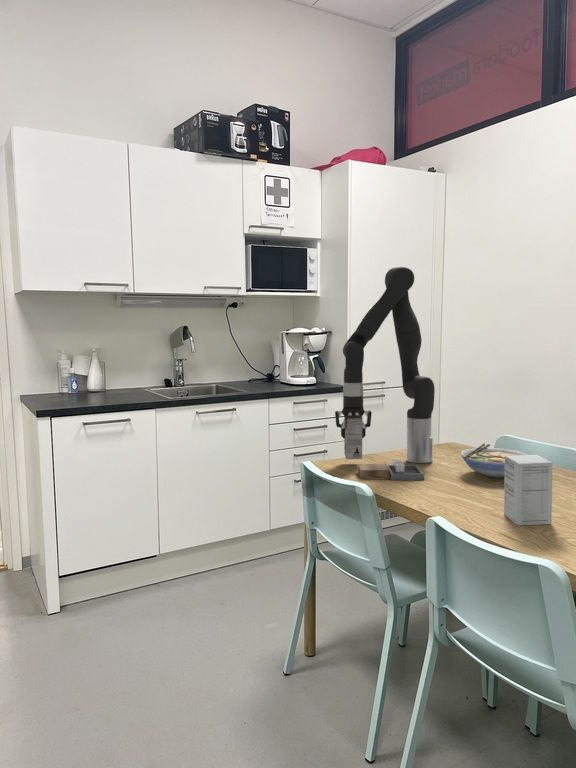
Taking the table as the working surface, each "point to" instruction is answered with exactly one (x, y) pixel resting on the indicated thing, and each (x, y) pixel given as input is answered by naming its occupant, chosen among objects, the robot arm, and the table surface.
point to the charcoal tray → (407, 473)
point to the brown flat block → (373, 471)
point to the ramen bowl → (488, 460)
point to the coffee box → (353, 437)
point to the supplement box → (528, 490)
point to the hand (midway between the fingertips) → (353, 437)
